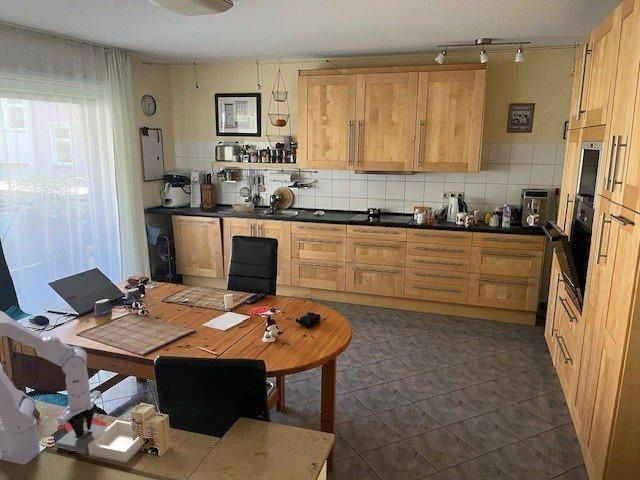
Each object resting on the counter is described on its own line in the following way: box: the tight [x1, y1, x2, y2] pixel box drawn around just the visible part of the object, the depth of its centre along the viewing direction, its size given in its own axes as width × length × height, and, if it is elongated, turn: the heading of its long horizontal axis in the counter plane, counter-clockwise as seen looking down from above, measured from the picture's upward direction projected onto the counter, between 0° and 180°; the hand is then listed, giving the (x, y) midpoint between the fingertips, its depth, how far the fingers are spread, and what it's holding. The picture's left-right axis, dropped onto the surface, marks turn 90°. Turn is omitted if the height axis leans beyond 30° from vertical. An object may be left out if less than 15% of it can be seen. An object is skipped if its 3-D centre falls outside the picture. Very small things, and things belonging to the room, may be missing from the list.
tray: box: [88, 419, 141, 464], centre depth 135 cm, size 12×12×4 cm
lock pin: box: [79, 416, 88, 439], centre depth 137 cm, size 2×2×8 cm
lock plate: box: [55, 423, 109, 456], centre depth 137 cm, size 10×10×2 cm
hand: (83, 432), depth 137 cm, fingers closed on lock pin, 2 cm apart
